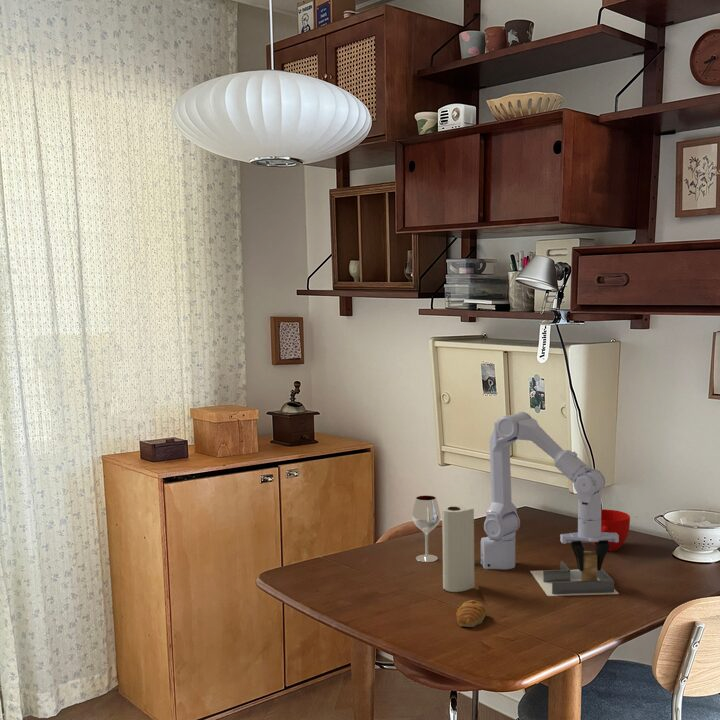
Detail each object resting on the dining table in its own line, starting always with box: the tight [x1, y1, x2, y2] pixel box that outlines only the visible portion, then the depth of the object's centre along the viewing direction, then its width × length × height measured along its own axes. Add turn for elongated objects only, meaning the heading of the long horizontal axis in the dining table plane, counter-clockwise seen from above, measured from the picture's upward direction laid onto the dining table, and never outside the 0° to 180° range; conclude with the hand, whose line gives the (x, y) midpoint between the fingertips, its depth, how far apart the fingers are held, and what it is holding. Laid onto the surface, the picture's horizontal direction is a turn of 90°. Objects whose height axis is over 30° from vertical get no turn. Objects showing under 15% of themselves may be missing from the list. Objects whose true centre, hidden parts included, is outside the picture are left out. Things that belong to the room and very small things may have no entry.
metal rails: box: [542, 560, 615, 594], centre depth 212 cm, size 16×16×3 cm
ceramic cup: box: [591, 508, 631, 552], centre depth 241 cm, size 13×17×10 cm
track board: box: [529, 569, 620, 597], centre depth 212 cm, size 18×18×1 cm
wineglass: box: [411, 495, 441, 563], centre depth 235 cm, size 8×8×18 cm
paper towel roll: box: [441, 505, 475, 593], centre depth 210 cm, size 7×6×21 cm
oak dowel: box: [581, 550, 598, 581], centre depth 209 cm, size 4×4×7 cm
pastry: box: [455, 599, 488, 628], centre depth 191 cm, size 9×7×4 cm
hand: (589, 569), depth 209 cm, fingers closed on oak dowel, 4 cm apart
